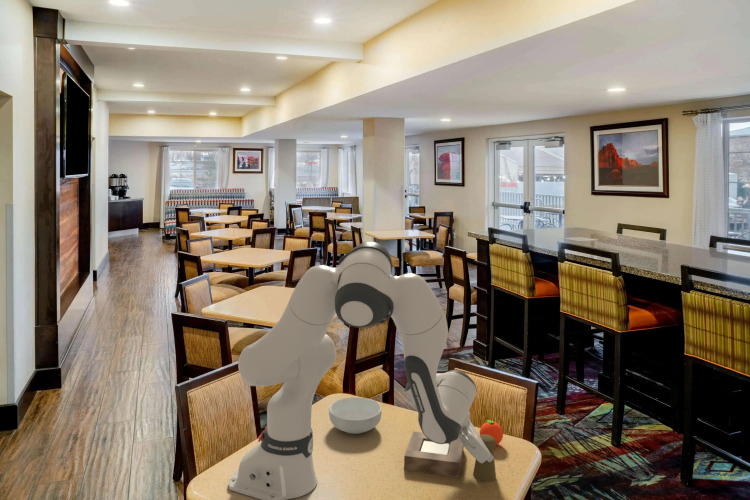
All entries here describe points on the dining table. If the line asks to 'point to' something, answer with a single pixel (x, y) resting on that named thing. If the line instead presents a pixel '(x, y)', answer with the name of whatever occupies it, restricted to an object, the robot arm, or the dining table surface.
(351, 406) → the cereal bowl
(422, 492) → the dining table surface
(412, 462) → the socket block
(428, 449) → the cream square tile
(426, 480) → the dining table surface
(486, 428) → the clementine
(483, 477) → the olive pepper mill
